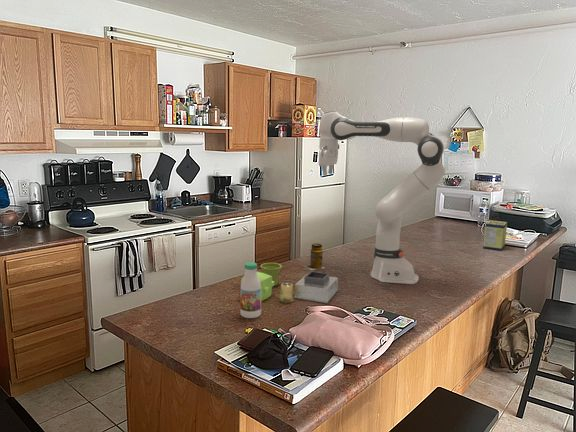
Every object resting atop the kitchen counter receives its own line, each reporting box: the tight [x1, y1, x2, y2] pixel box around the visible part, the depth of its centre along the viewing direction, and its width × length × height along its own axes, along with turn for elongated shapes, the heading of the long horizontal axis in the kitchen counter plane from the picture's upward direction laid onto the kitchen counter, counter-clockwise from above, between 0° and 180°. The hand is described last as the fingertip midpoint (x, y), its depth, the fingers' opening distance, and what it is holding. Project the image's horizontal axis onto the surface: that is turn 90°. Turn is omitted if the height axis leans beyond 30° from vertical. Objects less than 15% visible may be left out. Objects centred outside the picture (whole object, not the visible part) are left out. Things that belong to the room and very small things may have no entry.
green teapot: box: [240, 271, 275, 302], centre depth 186 cm, size 18×10×10 cm, turn 148°
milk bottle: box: [239, 261, 262, 319], centre depth 169 cm, size 8×8×20 cm
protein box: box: [482, 219, 508, 252], centre depth 279 cm, size 10×16×16 cm
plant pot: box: [260, 262, 282, 287], centre depth 205 cm, size 9×9×9 cm
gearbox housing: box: [294, 270, 339, 304], centre depth 193 cm, size 14×16×8 cm
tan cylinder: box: [280, 281, 294, 304], centre depth 185 cm, size 5×5×8 cm
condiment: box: [303, 243, 326, 271], centre depth 231 cm, size 7×8×12 cm
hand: (327, 174), depth 221 cm, fingers open, 8 cm apart
